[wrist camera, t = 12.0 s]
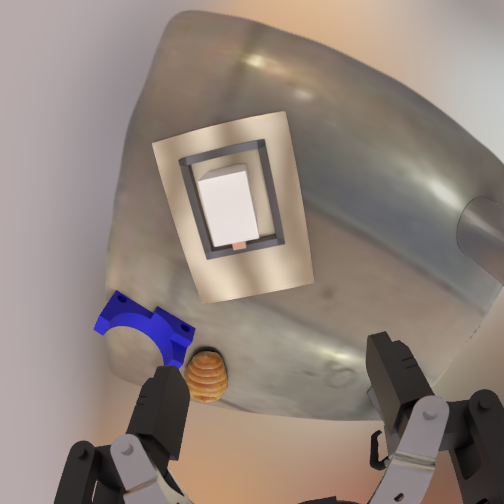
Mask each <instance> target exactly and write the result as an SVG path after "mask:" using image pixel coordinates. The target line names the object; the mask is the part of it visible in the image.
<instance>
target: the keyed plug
mask: <svg viewBox="0 0 504 504" xmlns="http://www.w3.org/2000/svg"><path fill="white" fill-rule="evenodd" d="M198 185H199V189H200V192H201V196H202V200H203V204H204V208H205V212H206V216H207V219H208V223H209V227H210V231H211V235H212V238H213V242H214V246H215V247H217V246H222V245H227V244H232V246H233V250H239V249H244V248H246V241H248V240H253V239H259V229H258V219H257V213H256V209H255V204H254V199H253V194H252V189H251V185H250V180H249V175H248V170H247V166H246V163H242V164H237V165H232V166H228V167H223V168H219V169H214V170H210V171H207V172H206V173H205V174H204V175H203V176H202V177H201V178H200V180H199V181H198Z"/></svg>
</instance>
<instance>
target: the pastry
mask: <svg viewBox="0 0 504 504" xmlns="http://www.w3.org/2000/svg"><path fill="white" fill-rule="evenodd" d="M184 373H185V382H186V384H187V386H188V388H189V391H190V395H191V397H192V398H193V399H195V400H197V401H200V402H210V401H216V400H218V399H220V398H221V396H222V395H223V394H224V391H225V390H226V389H227V387H228V377H227V373H226V369H225V365H224V362H223V359H222V358H221V357H220V355H219V354H218V353H216V352H209V351H203V352H199V353H198V354H196V355H194V357H193V359H192V361H190V362H189V364H188V367H187V369H186V370H185V372H184Z"/></svg>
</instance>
